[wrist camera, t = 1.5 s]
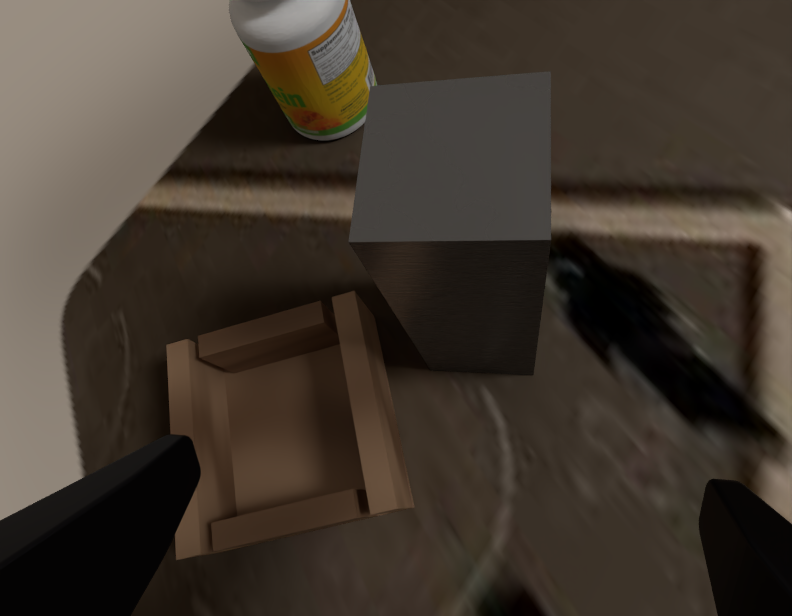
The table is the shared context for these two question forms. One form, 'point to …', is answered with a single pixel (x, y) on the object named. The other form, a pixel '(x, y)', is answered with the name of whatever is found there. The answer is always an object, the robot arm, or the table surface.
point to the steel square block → (459, 215)
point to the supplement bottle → (309, 61)
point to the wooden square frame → (286, 427)
